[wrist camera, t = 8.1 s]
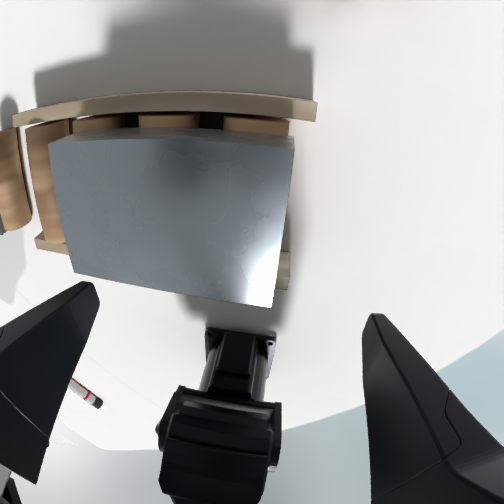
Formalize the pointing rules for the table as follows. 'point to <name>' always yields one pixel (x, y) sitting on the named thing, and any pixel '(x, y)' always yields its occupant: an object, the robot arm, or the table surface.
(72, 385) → the marker
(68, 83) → the table surface
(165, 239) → the slab
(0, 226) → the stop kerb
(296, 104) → the roller bed
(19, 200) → the roller
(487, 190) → the table surface
